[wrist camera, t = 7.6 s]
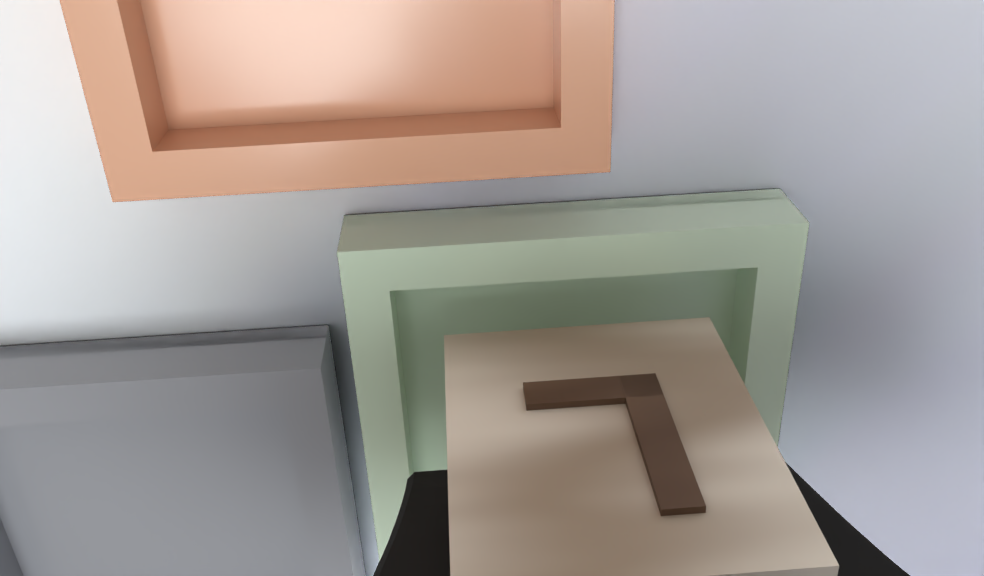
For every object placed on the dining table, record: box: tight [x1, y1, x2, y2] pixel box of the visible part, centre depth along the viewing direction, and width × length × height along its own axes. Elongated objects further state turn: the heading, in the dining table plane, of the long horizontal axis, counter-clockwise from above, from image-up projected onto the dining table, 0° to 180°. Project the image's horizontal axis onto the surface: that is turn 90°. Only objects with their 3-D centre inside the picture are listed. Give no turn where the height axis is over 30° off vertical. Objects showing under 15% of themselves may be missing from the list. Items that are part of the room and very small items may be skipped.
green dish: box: [337, 189, 809, 562], centre depth 16 cm, size 7×7×1 cm
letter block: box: [444, 317, 839, 576], centre depth 12 cm, size 4×4×5 cm
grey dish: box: [0, 325, 366, 576], centre depth 17 cm, size 7×7×1 cm
